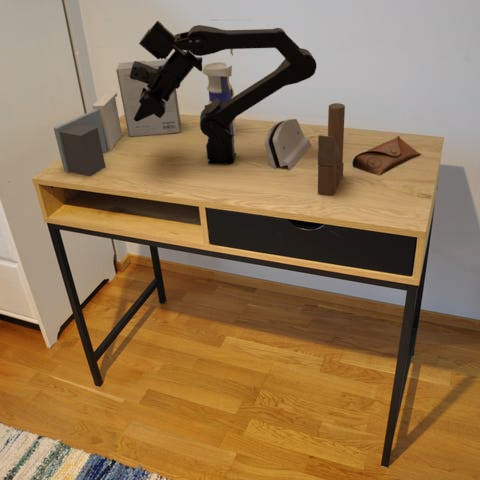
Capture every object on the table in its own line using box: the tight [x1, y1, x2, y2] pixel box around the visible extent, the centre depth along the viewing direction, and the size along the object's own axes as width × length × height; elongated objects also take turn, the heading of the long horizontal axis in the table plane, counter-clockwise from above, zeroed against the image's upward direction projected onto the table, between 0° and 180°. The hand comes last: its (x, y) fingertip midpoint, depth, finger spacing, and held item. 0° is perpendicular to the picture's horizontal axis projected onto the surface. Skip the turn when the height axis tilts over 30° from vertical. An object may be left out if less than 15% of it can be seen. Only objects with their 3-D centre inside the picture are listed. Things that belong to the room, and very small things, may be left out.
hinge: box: [264, 118, 312, 171], centre depth 144 cm, size 17×5×10 cm, turn 156°
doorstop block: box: [60, 124, 106, 177], centre depth 143 cm, size 7×6×11 cm
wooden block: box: [317, 102, 346, 197], centre depth 125 cm, size 4×11×18 cm, turn 159°
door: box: [53, 109, 109, 173], centre depth 148 cm, size 3×16×12 cm, turn 148°
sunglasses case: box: [352, 135, 422, 177], centre depth 139 cm, size 18×7×7 cm
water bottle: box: [202, 49, 237, 136], centre depth 155 cm, size 8×9×25 cm
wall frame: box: [92, 92, 123, 151], centre depth 157 cm, size 3×11×13 cm, turn 172°
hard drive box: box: [115, 58, 182, 137], centre depth 162 cm, size 16×8×20 cm, turn 94°
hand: (135, 120), depth 139 cm, fingers closed
